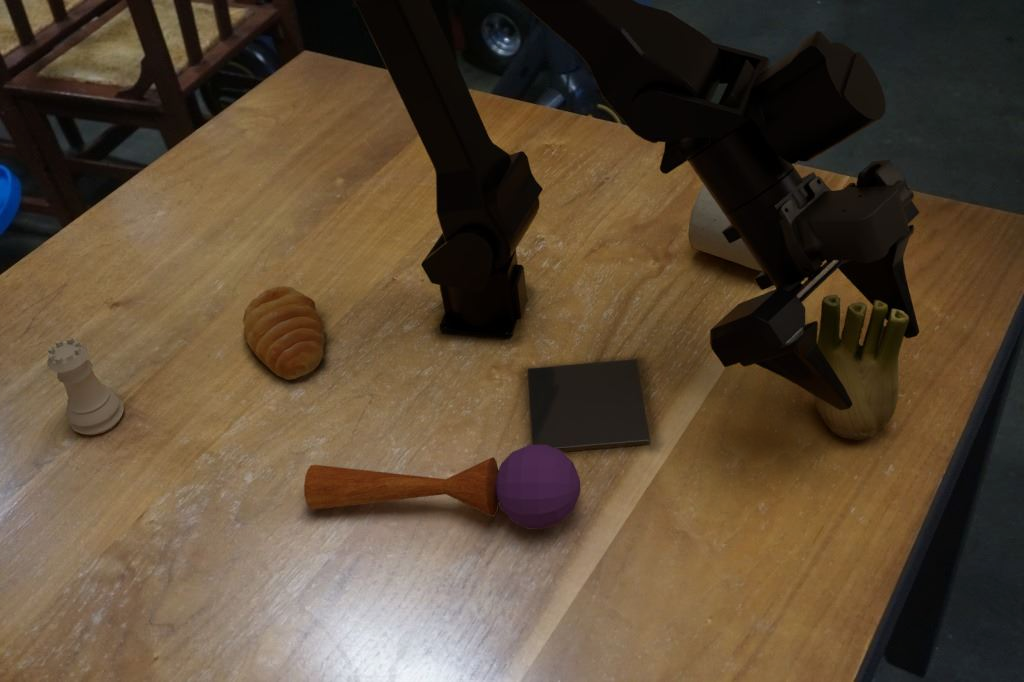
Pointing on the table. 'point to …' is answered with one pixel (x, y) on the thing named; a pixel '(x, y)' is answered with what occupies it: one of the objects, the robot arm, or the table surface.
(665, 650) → the table surface
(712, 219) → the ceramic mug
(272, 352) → the pastry
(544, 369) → the slate coaster
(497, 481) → the kendama
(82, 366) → the rook chess piece
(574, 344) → the table surface
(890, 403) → the fennel bulb
